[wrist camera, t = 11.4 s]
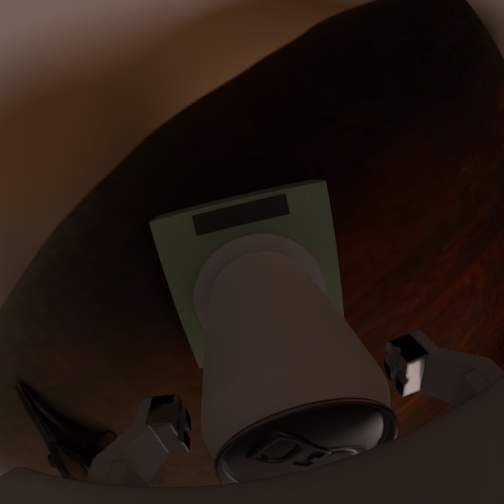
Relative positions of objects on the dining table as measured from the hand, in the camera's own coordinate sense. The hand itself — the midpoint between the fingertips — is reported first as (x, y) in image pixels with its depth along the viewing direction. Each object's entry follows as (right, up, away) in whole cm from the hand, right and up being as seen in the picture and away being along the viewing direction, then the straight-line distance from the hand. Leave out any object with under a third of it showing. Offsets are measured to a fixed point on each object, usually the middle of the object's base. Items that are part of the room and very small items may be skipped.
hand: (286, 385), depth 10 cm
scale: (-1, +4, +11) cm, 12 cm away
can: (-1, +2, +8) cm, 9 cm away
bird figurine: (-20, -17, +15) cm, 31 cm away
